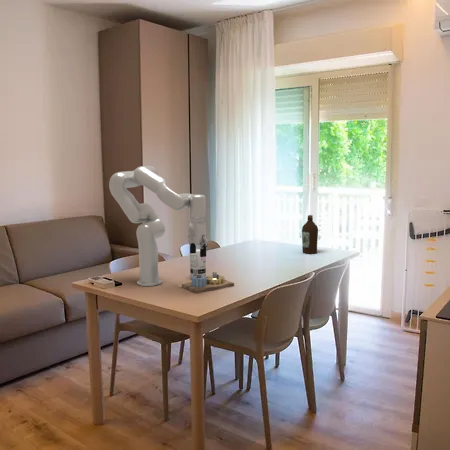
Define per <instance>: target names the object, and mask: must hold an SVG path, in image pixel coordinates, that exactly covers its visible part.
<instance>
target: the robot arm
mask: <svg viewBox="0 0 450 450" xmlns="http://www.w3.org/2000/svg"><path fill="white" fill-rule="evenodd" d="M108 186H109V191H110V194H111V196H112V197H113V198H114V200H115V201H116V202H117V204H118V205H119V206H120V208H121V210H122V211H123V212H124V215H126V217H127V219H128V220H129V221H130V222H131V223H133V224H139V225H138V227H137V228H136V232H135V233H136V235H135V236H136V239H137V244H138V263H139V264H138V265H139V267H138V268H139V279H138V280H137V282H136V284H137V285H138V286H142V287H154V286H159V285H161V284H162V283H163V282H162V279H161V278H160V277H159V275H160V274H159V272H160V271H159V251H158V249H159V248H158V245H157V241H156V239H160V238H161V237H162V236H164V235H165V232H166V227H165V223H164V222H163V221H162V219H161V217H159V215H158V213H157V212H156V210H155V209H154V208H153V207H152V206H151V205H150V204H149V203H144V202H143V203H139V202H138V200H137V198H136V197H135V196H134V194H133V193H131V191H129V190H128V189H129V188H136V187H139V186H143V187H145V188H146V189H147V190H150V191H151V192H153V193H155V195H156V197H157V198H158V199H159V201H161V202H162V203H163V204H164V205H166V206H168V207H169V208H170V209H172V210H175V211H181V210H186V209H189V227H188V236H187V238H188V243H189V254H190V253H191V254H192V253H196V249H197V245H199V247H200V248H199V249H200V257H207V250H208V249H207V248H208V244H209V240H208V238H207V226H206V225H207V222H206V219H207V216H206V212H207V209H206V207H207V206H206V204H207V203H206V201H207V200H206V199H207V197H206V196H205V194H199V193H198V194H193V193H187V192H186V193H185V192H184V193H180V194H179V193H176V192H175V191H173V190H171V188H169V187H168V186H167V179H165V178H164V177H163V176H161V175H159V172H158V170H157V168H156V167H154V166H152V165H141V166H138V167H137V168H135V169H134V170H128V171H118V172H115V173H114V174H112V175H111V177H110V178H109V183H108Z"/></svg>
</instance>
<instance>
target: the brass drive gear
mask: <svg viewBox="0 0 450 450" xmlns="http://www.w3.org/2000/svg"><path fill="white" fill-rule="evenodd" d="M225 280H226V279H225V276H224V275H219V274H218V273H217V272H216V271H214V272H212V275H206V281H207V284H209V285H217V284H219V285H220V284H223V283H224V282H225Z"/></svg>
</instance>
